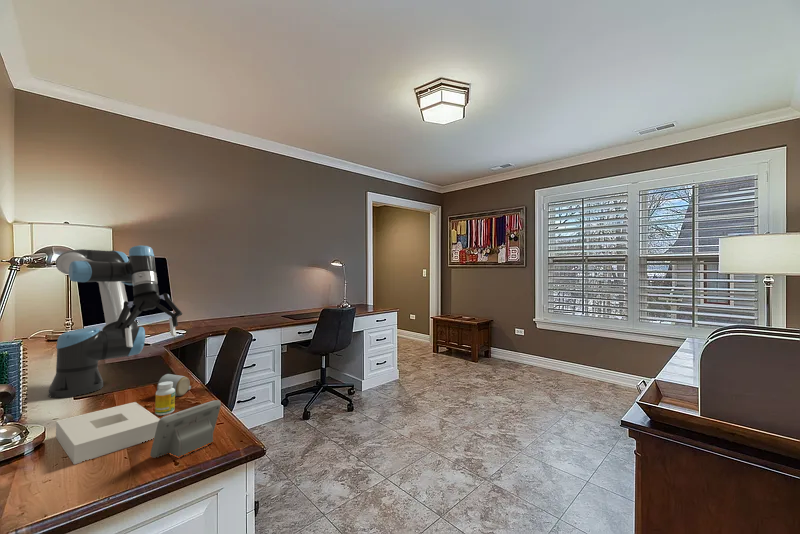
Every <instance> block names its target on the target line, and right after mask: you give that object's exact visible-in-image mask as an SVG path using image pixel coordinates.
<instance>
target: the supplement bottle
mask: <svg viewBox="0 0 800 534" xmlns="http://www.w3.org/2000/svg"><path fill="white" fill-rule="evenodd" d="M157 386H158V389H159V390H157V389H156V391H155V398H154V399H155V406H154V415H155V416H156V415H157V416H167V415H170V414H173V412H174V411H175V408H176V407H175V406H176V405H175V404H176V402H175V401H176V396H175V389H174V388H172V387H173V382H171V381H167V382H162V383H159V384H158V383H157Z"/></svg>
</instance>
